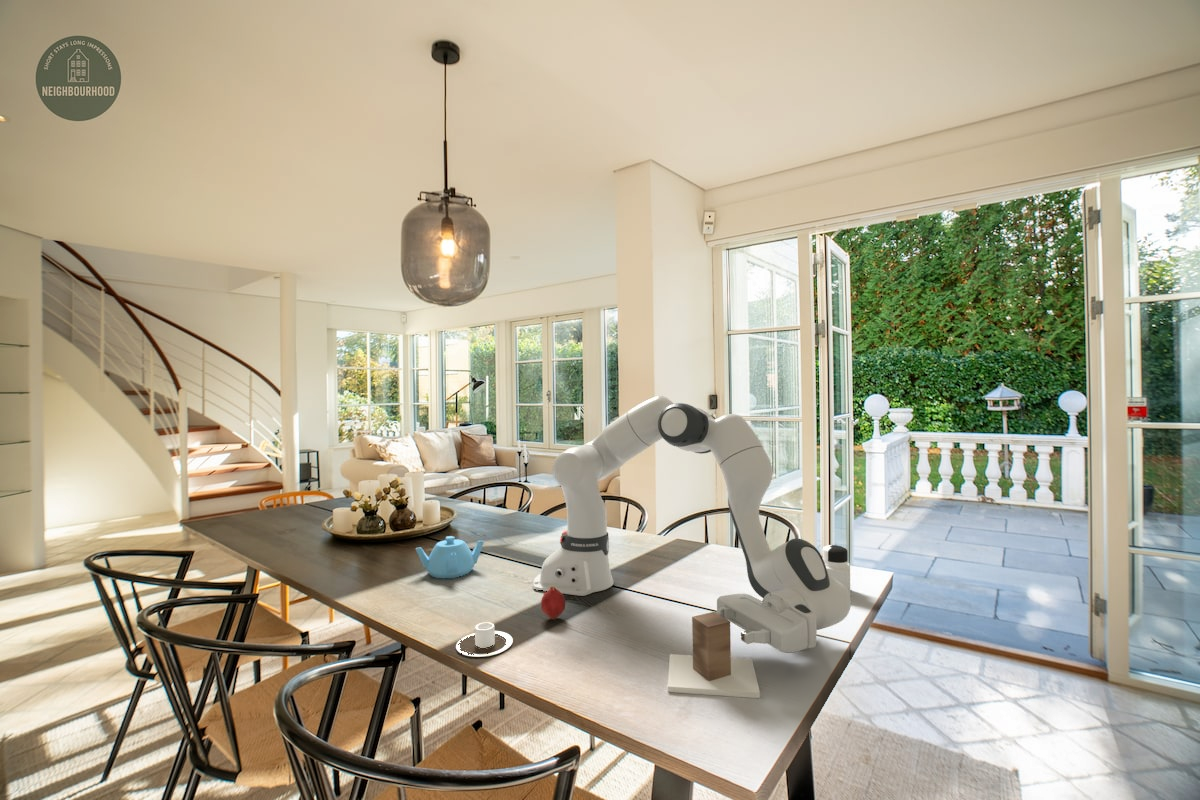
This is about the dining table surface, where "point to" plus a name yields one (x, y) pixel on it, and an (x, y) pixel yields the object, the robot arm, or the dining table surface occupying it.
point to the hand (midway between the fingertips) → (727, 628)
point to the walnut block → (711, 646)
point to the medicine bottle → (837, 564)
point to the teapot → (450, 558)
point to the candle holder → (486, 639)
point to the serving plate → (692, 682)
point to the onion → (553, 603)
